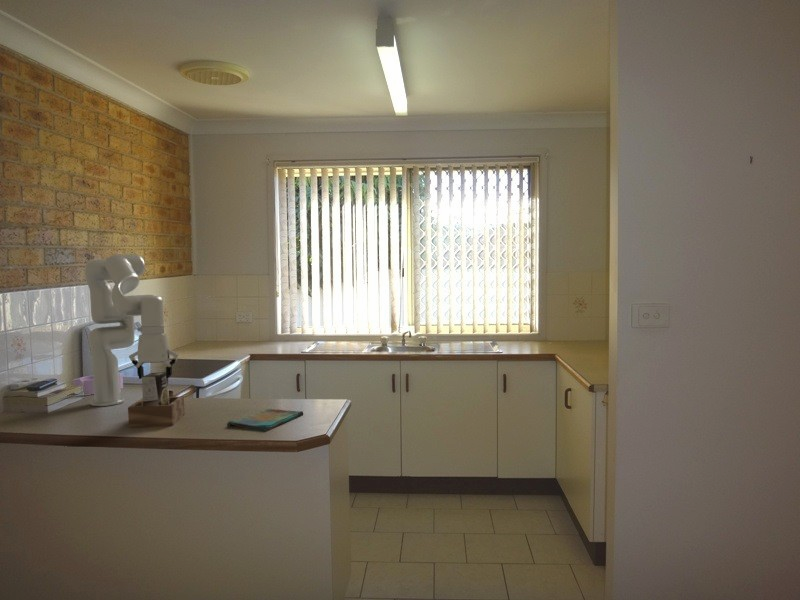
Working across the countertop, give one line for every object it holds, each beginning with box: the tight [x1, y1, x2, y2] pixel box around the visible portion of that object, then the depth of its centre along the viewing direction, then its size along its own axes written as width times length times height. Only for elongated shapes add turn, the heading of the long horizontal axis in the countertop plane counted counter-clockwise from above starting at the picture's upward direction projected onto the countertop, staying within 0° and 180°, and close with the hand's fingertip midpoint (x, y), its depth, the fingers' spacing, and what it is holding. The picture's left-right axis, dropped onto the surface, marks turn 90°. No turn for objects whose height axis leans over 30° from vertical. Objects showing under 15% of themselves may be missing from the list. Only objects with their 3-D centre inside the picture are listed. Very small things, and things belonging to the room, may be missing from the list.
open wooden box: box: [127, 396, 186, 428], centre depth 223 cm, size 15×15×7 cm
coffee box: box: [141, 371, 170, 406], centre depth 223 cm, size 9×6×16 cm
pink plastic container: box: [72, 372, 124, 394], centre depth 281 cm, size 20×12×7 cm, turn 143°
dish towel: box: [226, 408, 304, 432], centre depth 219 cm, size 17×23×2 cm
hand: (155, 377), depth 223 cm, fingers open, 9 cm apart
